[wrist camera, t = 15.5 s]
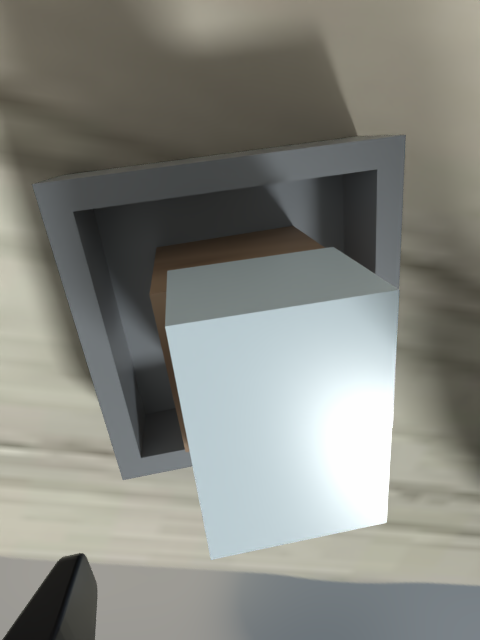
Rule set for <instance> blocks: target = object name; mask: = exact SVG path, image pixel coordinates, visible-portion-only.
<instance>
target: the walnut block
mask: <svg viewBox="0 0 480 640" xmlns="http://www.w3.org/2000/svg"><path fill="white" fill-rule="evenodd" d="M322 248H325V247H323V246H322V245H320V244H319V243H317V242H316V241H315V240H313V239H312V238H310V237H309V236H307V235H306V234H304V233H303V232H302V231H300V230H299V229H297V228H296V227H294V226H289V227H282V228H276V229H270V230H263V231H257V232H251V233H244V234H238V235H232V236H226V237H219V238H213V239H207V240H200V241H194V242H188V243H181V244H175V245H169V246H162V247H157V248H156V254H155V261H154V268H153V274H152V281H151V288H150V299H151V303H152V308H153V312H154V316H155V321H156V325H157V329H158V334H159V338H160V343H161V347H162V351H163V356H164V360H165V364H166V369H167V373H168V377H169V382H170V386H171V391H172V395H173V399H174V404H175V408H176V412H177V417H178V421H179V426H180V430H181V434H182V439H183V443H184V447H185V452H190V451H189V446H188V440H187V435H186V430H185V425H184V420H183V415H182V410H181V405H180V400H179V395H178V390H177V385H176V380H175V374H174V369H173V364H172V359H171V354H170V349H169V344H168V339H167V334H166V329H165V315H166V290H167V271H169V270H176V269H183V268H190V267H197V266H203V265H210V264H217V263H224V262H231V261H238V260H245V259H252V258H259V257H266V256H273V255H280V254H287V253H294V252H301V251H308V250H315V249H322Z"/></svg>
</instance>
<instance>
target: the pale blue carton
mask: <svg viewBox="0 0 480 640" xmlns="http://www.w3.org/2000/svg"><path fill="white" fill-rule="evenodd" d="M399 291H400V290H399V289H398V288H396V287H394V286H393V285H391V284H390V283H388V282H387V281H385V280H384V279H382V278H381V277H379V276H378V275H376V274H374V273H373V272H371V271H370V270H368V269H367V268H365V267H364V266H362V265H361V264H359V263H358V262H356V261H354V260H353V259H351V258H350V257H348V256H347V255H345V254H344V253H342V252H341V251H339V250H338V249H336V248H334V247H329V248H322V249H315V250H308V251H301V252H294V253H287V254H280V255H273V256H266V257H259V258H252V259H245V260H238V261H231V262H224V263H217V264H210V265H203V266H197V267H190V268H183V269H176V270H169V271H167V290H166V315H165V329H166V334H167V339H168V344H169V349H170V354H171V359H172V364H173V369H174V374H175V380H176V385H177V390H178V395H179V400H180V405H181V410H182V415H183V420H184V425H185V430H186V435H187V440H188V446H189V451H190V456H191V461H192V466H193V471H194V476H195V481H196V486H197V491H198V496H199V501H200V506H201V511H202V517H203V522H204V527H205V532H206V537H207V542H208V547H209V552H210V557H211V560H212V559H217V558H222V557H227V556H231V555H236V554H241V553H246V552H250V551H255V550H260V549H264V548H269V547H274V546H279V545H283V544H288V543H293V542H298V541H302V540H307V539H312V538H317V537H321V536H326V535H331V534H335V533H340V532H345V531H350V530H354V529H359V528H364V527H369V526H373V525H378V524H383V523H387V508H388V490H389V472H390V454H391V436H392V418H393V399H394V381H395V363H396V345H397V327H398V309H399Z"/></svg>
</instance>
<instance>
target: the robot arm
mask: <svg viewBox="0 0 480 640" xmlns="http://www.w3.org/2000/svg"><path fill="white" fill-rule="evenodd" d="M96 610H97V584H96V580H95V577H94V575H93V572H92V570H91V567H90V565H89V562H88V560H87V557H86V556H85V555H84V554H83V553H79V554H74V555H70V556H65V557H62V558H61V559H60V560H59V561H58V562H57V563H56V564H55V566H54V567H53V569H52V570H51V572H50V573H49V574H48V576H47V577H46V579H45V580H44V581H43V583H42V584H41V586H40V587H39V588H38V590H37V591H36V593H35V594H34V596H33V597H32V599H31V600H30V601H29V603H28V604H27V606H26V607H25V608H24V610H23V611H22V613H21V614H20V615H19V617H18V618H17V620H16V621H15V623H14V624H13V625H12V627H11V628H10V630H9V631H8V632H7V634H6V635H5V637H4V638H3V640H95V627H96Z"/></svg>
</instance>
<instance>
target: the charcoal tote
mask: <svg viewBox="0 0 480 640" xmlns="http://www.w3.org/2000/svg"><path fill="white" fill-rule="evenodd" d="M405 139H406V135H382V136H356V137H349V138H341V139H334V140H326V141H318V142H311V143H303V144H295V145H288V146H280V147H273V148H265V149H257V150H250V151H242V152H235V153H227V154H219V155H212V156H204V157H197V158H189V159H181V160H174V161H166V162H158V163H151V164H143V165H136V166H128V167H120V168H113V169H105V170H98V171H90V172H82V173H75V174H67V175H61V176H58V177H54V178H51V179H48V180H44V181H41V182H38V183H34V184H32V186H33V189H34V193H35V196H36V199H37V202H38V206H39V209H40V212H41V215H42V219H43V222H44V225H45V228H46V232H47V235H48V238H49V241H50V245H51V248H52V251H53V254H54V258H55V261H56V264H57V267H58V271H59V274H60V277H61V280H62V284H63V287H64V290H65V293H66V297H67V300H68V303H69V306H70V310H71V313H72V316H73V319H74V323H75V326H76V329H77V332H78V336H79V339H80V342H81V345H82V349H83V352H84V355H85V358H86V362H87V365H88V368H89V372H90V375H91V378H92V381H93V385H94V388H95V391H96V394H97V398H98V401H99V404H100V407H101V411H102V414H103V417H104V420H105V424H106V427H107V430H108V433H109V437H110V440H111V443H112V446H113V450H114V453H115V456H116V459H117V463H118V466H119V469H120V472H121V476H122V479H123V480H126V479H131V478H136V477H141V476H146V475H151V474H156V473H161V472H166V471H171V470H176V469H181V468H186V467H191V466H192V461H191V456H190V452H185V447H184V443H183V439H182V434H181V430H180V426H179V421H178V417H177V412H176V408H175V404H174V399H173V395H172V391H171V386H170V382H169V377H168V373H167V369H166V364H165V360H164V356H163V351H162V347H161V343H160V338H159V334H158V329H157V325H156V321H155V316H154V312H153V308H152V303H151V299H150V288H151V281H152V274H153V268H154V261H155V254H156V248H157V247H162V246H169V245H175V244H181V243H188V242H194V241H200V240H207V239H213V238H219V237H226V236H232V235H238V234H244V233H251V232H257V231H263V230H270V229H276V228H282V227H289V226H294V227H296V228H297V229H299V230H300V231H302V232H303V233H304V234H306V235H307V236H309V237H310V238H312V239H313V240H315V241H316V242H317V243H319V244H320V245H322V246H323V247H325V248H329V247H334V248H336V249H338V250H339V251H341V252H342V253H344V254H345V255H347V256H348V257H350V258H351V259H353V260H354V261H356V262H358V263H359V264H361V265H362V266H364V267H365V268H367V269H368V270H370V271H371V272H373V273H374V274H376V275H378V276H379V277H381V278H382V279H384V280H385V281H387V282H388V283H390V284H391V285H393V286H394V287H396V288H398V289H399V278H400V254H401V231H402V208H403V185H404V162H405ZM396 347H397V345H396ZM395 370H396V363H395ZM394 393H395V381H394ZM393 416H394V399H393ZM392 427H393V418H392Z"/></svg>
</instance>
